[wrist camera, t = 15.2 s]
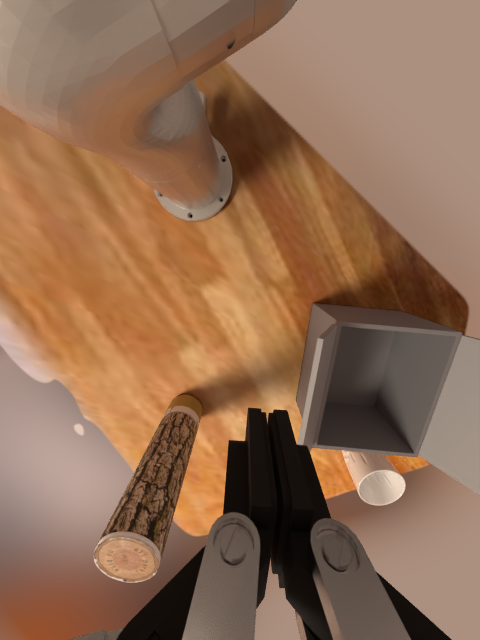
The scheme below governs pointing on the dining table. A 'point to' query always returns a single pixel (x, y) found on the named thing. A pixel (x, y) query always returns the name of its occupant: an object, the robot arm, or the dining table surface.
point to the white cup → (374, 477)
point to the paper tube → (150, 498)
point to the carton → (377, 378)
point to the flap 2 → (458, 419)
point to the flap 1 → (317, 386)
